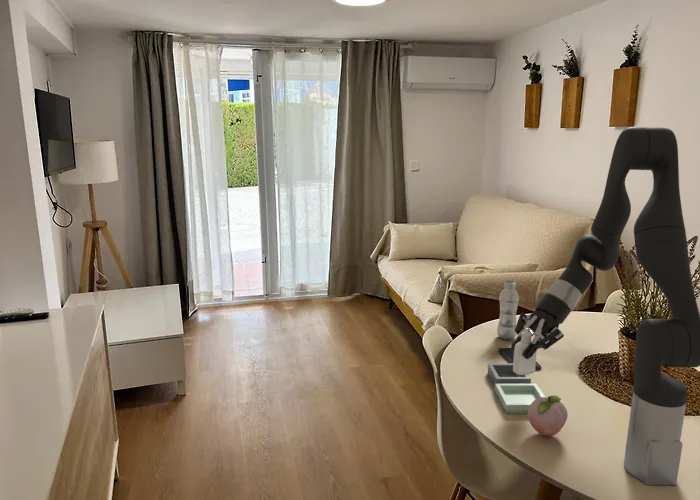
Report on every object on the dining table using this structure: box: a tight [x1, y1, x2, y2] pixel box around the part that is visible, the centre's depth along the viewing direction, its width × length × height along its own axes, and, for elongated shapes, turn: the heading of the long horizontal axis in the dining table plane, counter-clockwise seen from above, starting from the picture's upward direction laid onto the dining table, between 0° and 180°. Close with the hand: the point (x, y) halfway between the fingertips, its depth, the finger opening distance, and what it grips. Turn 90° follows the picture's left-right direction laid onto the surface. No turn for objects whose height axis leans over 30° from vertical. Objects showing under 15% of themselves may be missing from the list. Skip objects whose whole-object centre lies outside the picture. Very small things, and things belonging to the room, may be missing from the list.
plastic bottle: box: [496, 279, 520, 341], centre depth 174 cm, size 6×7×20 cm
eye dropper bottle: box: [513, 328, 538, 376], centre depth 132 cm, size 4×6×12 cm
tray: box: [494, 383, 546, 415], centre depth 134 cm, size 11×11×2 cm
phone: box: [497, 347, 542, 371], centre depth 159 cm, size 8×1×15 cm
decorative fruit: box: [527, 395, 569, 437], centre depth 119 cm, size 9×8×10 cm
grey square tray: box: [487, 362, 532, 387], centre depth 146 cm, size 9×9×3 cm
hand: (519, 353), depth 131 cm, fingers closed on eye dropper bottle, 3 cm apart
